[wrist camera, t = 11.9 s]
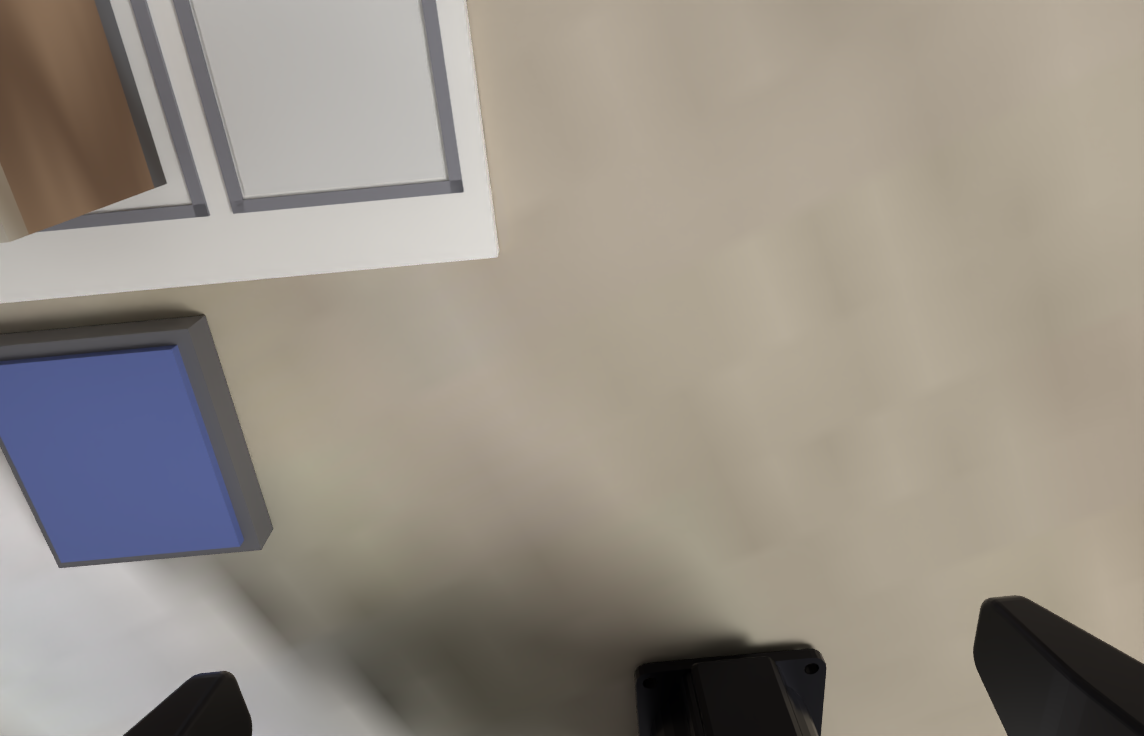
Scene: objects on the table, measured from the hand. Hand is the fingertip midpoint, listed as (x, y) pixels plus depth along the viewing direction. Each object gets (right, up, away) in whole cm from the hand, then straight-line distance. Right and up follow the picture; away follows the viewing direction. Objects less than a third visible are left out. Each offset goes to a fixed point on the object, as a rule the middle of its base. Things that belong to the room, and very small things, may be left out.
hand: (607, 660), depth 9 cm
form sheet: (-9, +10, +8) cm, 16 cm away
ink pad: (-13, +1, +12) cm, 18 cm away
